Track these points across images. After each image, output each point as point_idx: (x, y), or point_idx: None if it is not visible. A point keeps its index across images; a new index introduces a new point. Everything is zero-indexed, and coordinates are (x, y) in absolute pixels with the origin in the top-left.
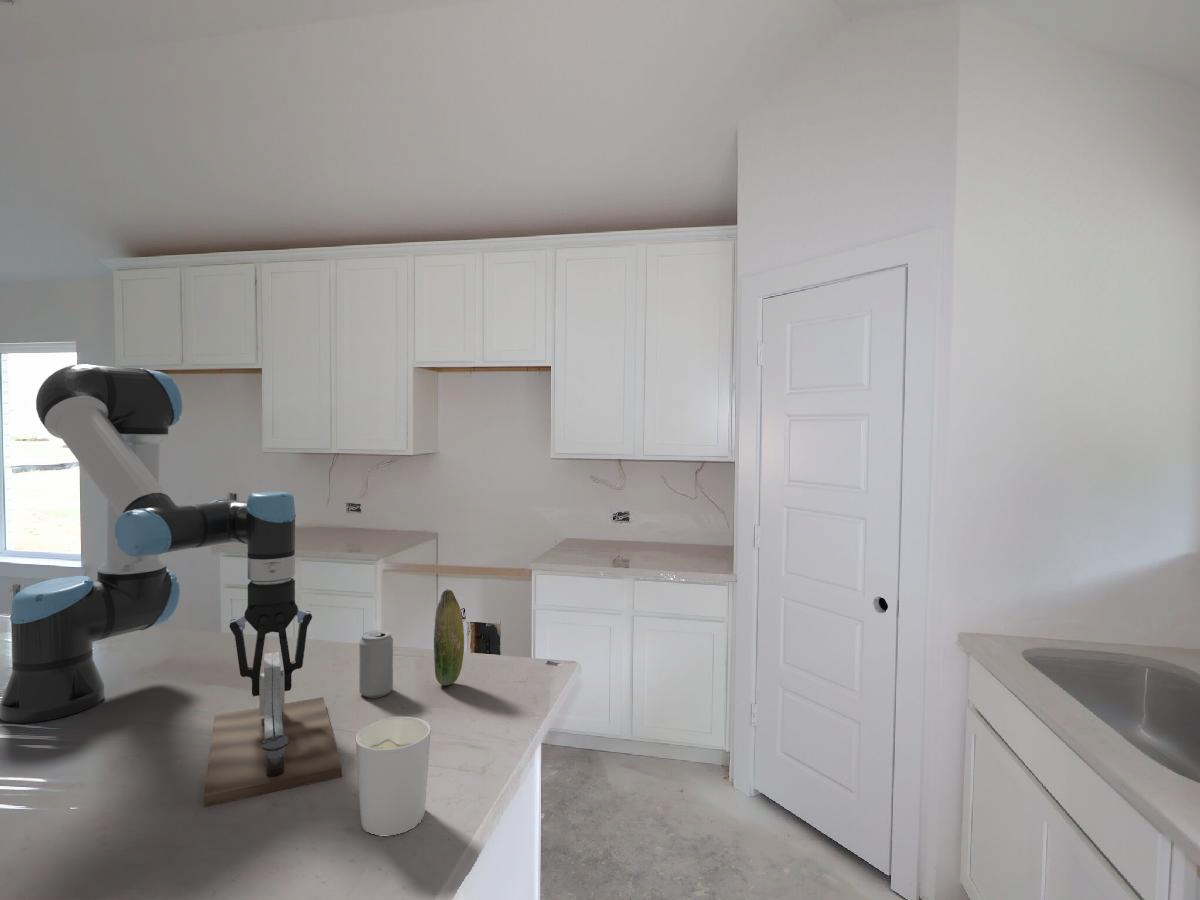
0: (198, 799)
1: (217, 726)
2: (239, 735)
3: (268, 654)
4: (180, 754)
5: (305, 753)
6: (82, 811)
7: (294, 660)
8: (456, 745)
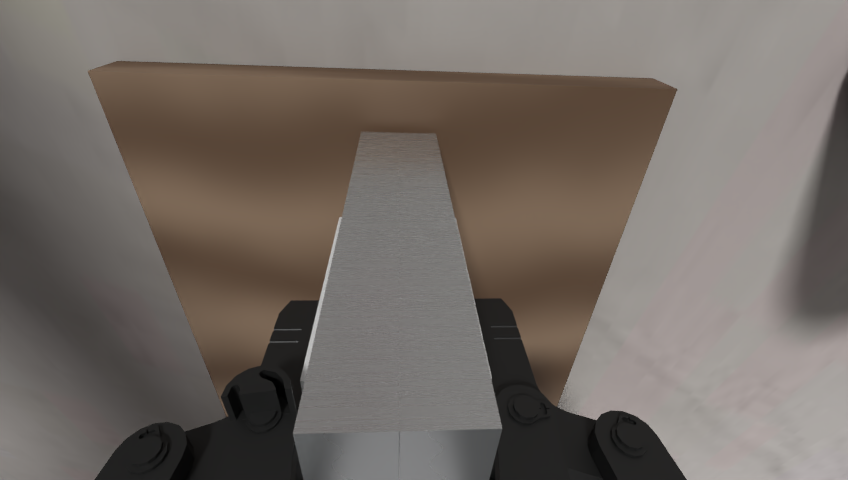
0: None
1: (169, 226)
2: None
3: (360, 469)
4: (105, 297)
5: None
6: (9, 449)
7: (597, 477)
8: (757, 460)
